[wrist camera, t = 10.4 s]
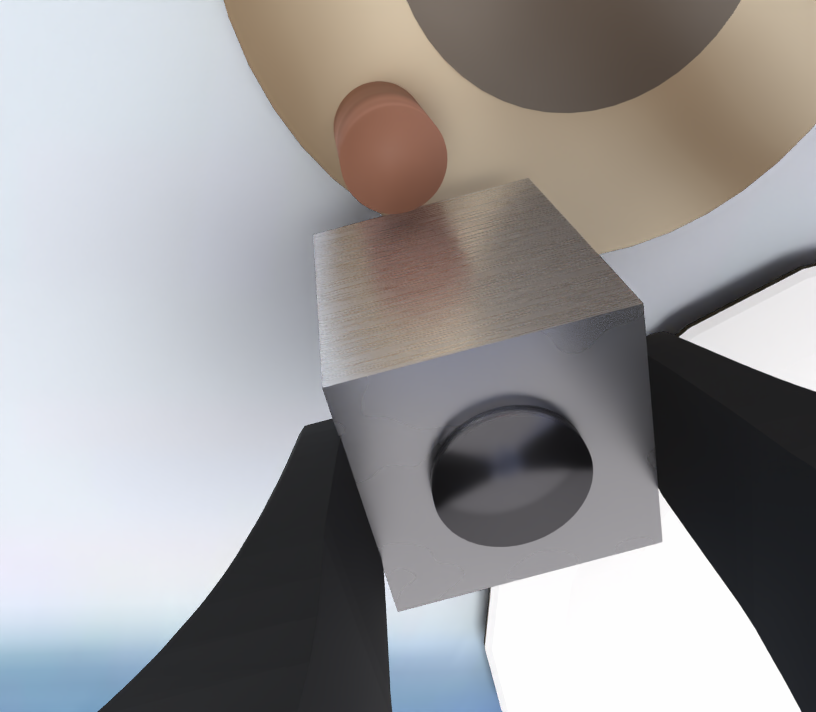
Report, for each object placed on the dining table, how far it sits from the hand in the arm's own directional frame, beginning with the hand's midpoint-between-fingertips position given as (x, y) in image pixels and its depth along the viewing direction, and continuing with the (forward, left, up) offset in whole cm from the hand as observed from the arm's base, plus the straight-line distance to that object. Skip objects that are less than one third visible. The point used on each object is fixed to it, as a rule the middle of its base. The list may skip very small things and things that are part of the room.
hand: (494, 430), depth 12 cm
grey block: (0, 0, -5) cm, 5 cm away
